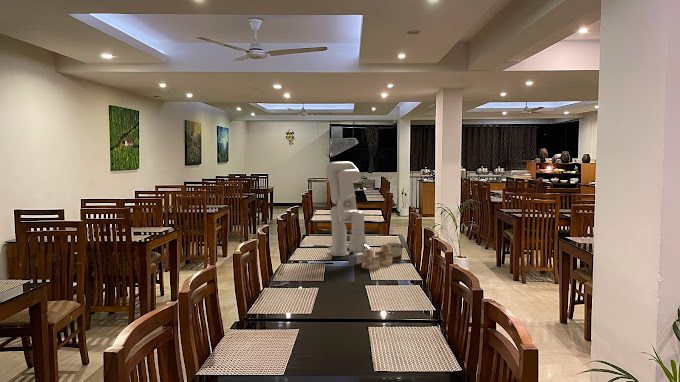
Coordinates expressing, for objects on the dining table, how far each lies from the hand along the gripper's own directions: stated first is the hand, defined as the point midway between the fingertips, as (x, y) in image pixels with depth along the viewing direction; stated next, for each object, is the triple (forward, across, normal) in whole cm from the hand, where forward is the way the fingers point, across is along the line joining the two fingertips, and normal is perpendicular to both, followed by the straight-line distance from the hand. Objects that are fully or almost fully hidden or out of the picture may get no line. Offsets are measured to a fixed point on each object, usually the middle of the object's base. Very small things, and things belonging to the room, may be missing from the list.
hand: (358, 260), depth 304 cm
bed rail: (+1, 0, 0) cm, 1 cm away
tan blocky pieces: (+1, +14, 0) cm, 14 cm away
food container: (+2, +13, +19) cm, 23 cm away
